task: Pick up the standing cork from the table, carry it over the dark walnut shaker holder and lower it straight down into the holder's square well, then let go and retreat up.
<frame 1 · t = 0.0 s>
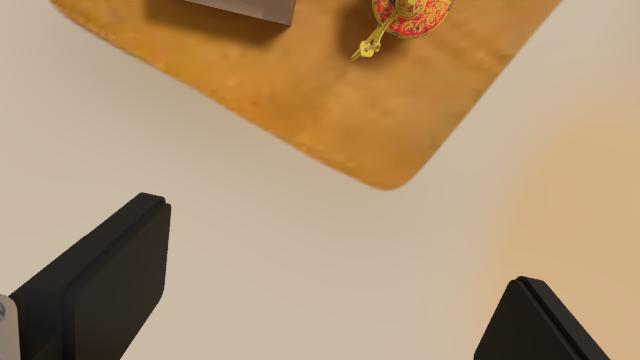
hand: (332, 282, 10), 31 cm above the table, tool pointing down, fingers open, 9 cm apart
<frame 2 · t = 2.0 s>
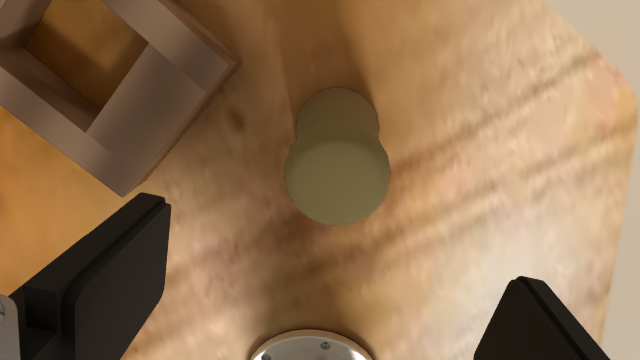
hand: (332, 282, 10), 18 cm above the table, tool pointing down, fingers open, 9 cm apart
cork: (337, 129, 28), on the table
shaker holder: (97, 45, 26), on the table
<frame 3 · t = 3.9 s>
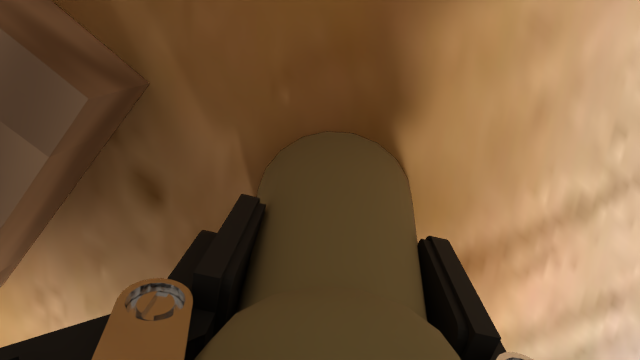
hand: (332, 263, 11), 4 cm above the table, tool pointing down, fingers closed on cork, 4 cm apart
cork: (333, 205, 15), on the table, touching gripper
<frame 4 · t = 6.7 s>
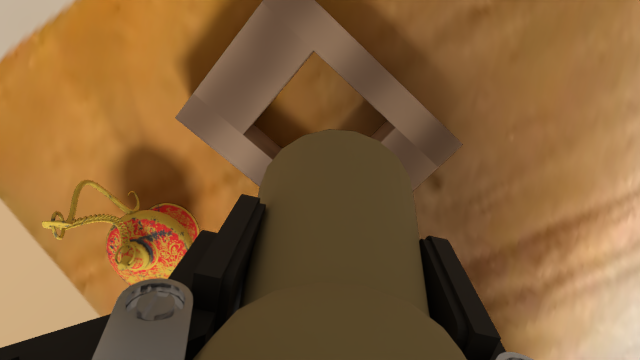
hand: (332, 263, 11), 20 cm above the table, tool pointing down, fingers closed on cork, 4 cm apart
cork: (335, 203, 15), point 15 cm above the table, touching gripper
shaker holder: (320, 120, 29), on the table
magic lamp: (179, 244, 34), on the table
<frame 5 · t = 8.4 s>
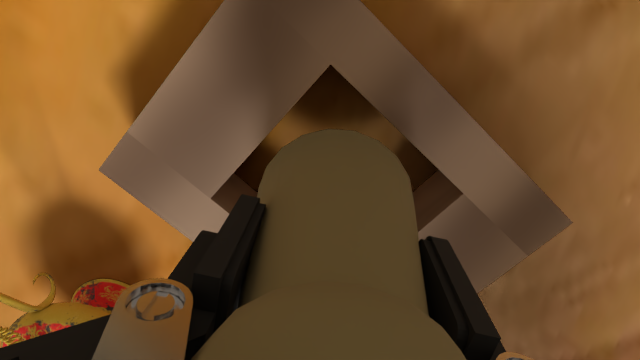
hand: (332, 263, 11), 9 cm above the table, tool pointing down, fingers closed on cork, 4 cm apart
cork: (334, 202, 15), point 4 cm above the table, touching gripper
shaker holder: (335, 169, 19), on the table
magic lamp: (126, 332, 24), on the table
when the fingers open (5 cm above the table, at t = 9.5 s): cork stays where it is, resting in shaker holder.
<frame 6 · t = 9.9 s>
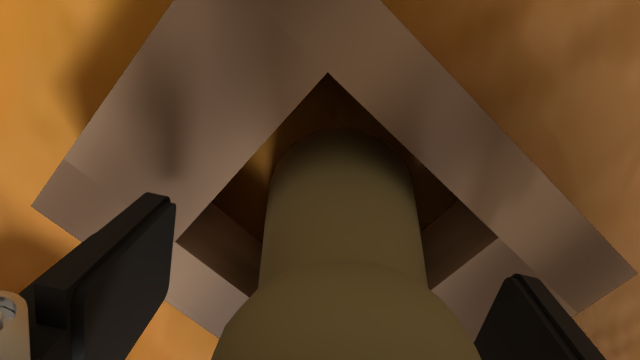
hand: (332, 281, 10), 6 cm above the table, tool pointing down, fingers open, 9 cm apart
cork: (340, 197, 16), resting in shaker holder
shaker holder: (334, 197, 16), on the table
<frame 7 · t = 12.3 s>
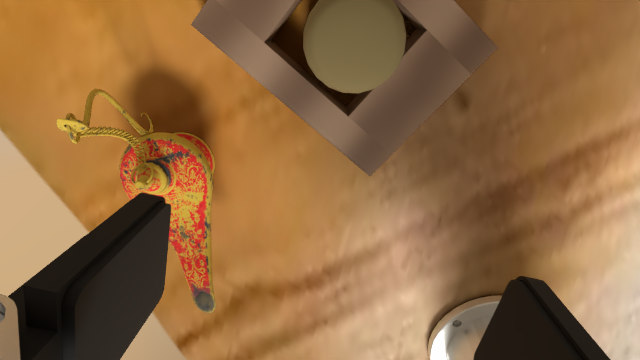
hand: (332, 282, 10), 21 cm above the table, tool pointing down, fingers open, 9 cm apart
cork: (346, 36, 28), resting in shaker holder
shaker holder: (343, 34, 28), on the table
magic lamp: (193, 177, 33), on the table
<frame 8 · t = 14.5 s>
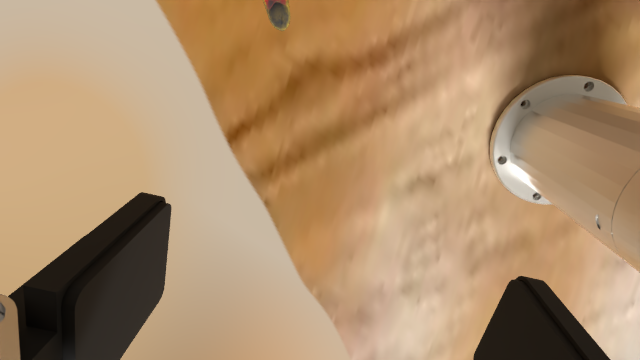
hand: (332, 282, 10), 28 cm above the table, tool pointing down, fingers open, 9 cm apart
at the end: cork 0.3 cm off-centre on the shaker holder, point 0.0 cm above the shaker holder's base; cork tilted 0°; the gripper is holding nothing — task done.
